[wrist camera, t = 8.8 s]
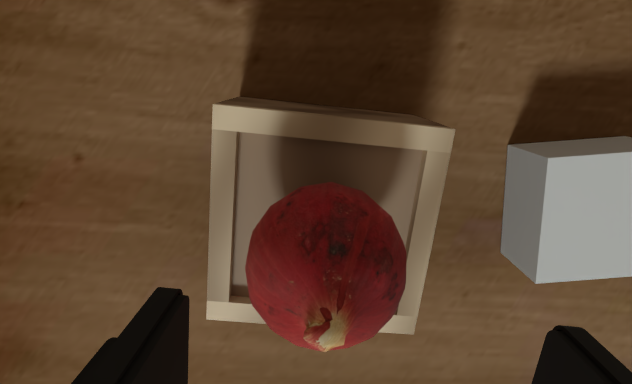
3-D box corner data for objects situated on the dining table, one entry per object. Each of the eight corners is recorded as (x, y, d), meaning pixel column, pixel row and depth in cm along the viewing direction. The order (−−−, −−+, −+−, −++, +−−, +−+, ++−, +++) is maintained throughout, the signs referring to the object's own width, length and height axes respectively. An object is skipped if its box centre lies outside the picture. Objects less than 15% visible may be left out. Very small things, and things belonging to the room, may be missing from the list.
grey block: (624, 136, 23) (688, 147, 19) (608, 243, 25) (662, 273, 21) (507, 144, 23) (548, 158, 19) (500, 252, 25) (535, 283, 21)
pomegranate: (276, 150, 17) (248, 204, 9) (402, 184, 17) (476, 262, 10) (247, 268, 18) (201, 401, 11) (363, 297, 19) (401, 443, 11)
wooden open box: (413, 114, 23) (455, 129, 16) (386, 270, 25) (413, 334, 19) (239, 96, 22) (212, 104, 16) (231, 257, 25) (206, 319, 18)
